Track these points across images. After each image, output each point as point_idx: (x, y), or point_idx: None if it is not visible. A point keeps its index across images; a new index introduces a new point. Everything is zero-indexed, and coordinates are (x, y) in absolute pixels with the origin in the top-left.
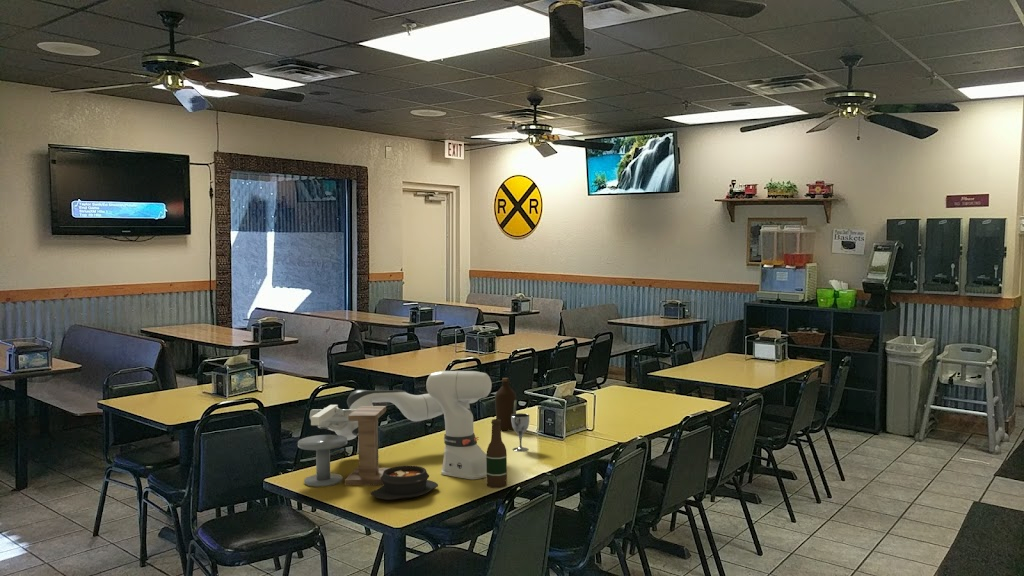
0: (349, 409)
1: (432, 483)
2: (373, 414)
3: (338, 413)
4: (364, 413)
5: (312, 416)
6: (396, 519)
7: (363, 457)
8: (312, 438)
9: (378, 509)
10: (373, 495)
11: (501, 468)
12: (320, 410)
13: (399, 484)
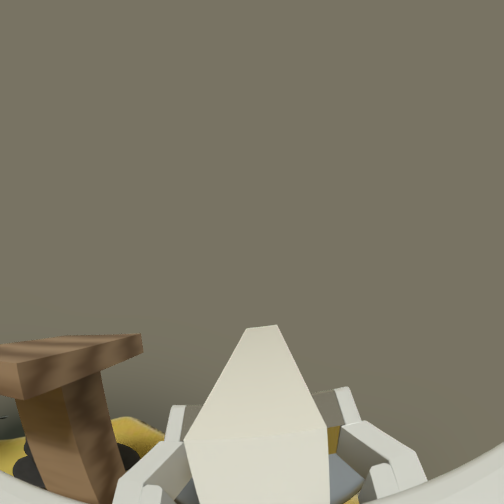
0: (41, 490)
1: (22, 463)
2: (64, 336)
3: (190, 474)
4: (81, 338)
5: (274, 326)
6: (122, 425)
7: None
8: (330, 455)
9: (137, 443)
10: (136, 453)
11: None
12: (481, 457)
13: None
